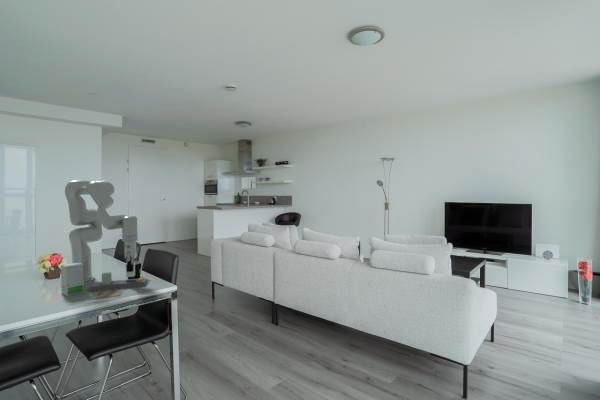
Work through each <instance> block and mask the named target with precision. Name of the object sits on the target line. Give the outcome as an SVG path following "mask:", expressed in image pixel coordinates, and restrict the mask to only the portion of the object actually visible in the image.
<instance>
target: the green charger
mask: <svg viewBox="0 0 600 400" xmlns="http://www.w3.org/2000/svg"><path fill="white" fill-rule="evenodd" d="M112 279H113V278H112V272H102V273H101V282H102V285H105V284H112V281H113V280H112Z"/></svg>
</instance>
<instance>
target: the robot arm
mask: <svg viewBox="0 0 600 400" xmlns="http://www.w3.org/2000/svg"><path fill="white" fill-rule="evenodd" d="M114 192H115V187H114V185H113V184H112V182H109V181H101V180H100V181H99V180H81V179H79V180H78V179H77V180H71V181H69V182H67V184H66V185H65V187H64V194H65V199H66V200H67V204H68V210H69V212H68V213H69V220H70V224H71V225H72V226H74V227H77V226H78V228H74V229H72V230H70V232H69V234H68V239H69V242H70V248H71V264H72V263H82V264H83V276H84V283H85V282H89V281H93V280H95V279H96V276H95V275H93V273H92V270H93V269H92V249H91V247H90V246H89V245H88V243H89V244H90V243H95V242H98V241H100V240H101V239H102V237H103V228H104V229H106V230H109V231H112V230H119V229H121V235H122V236H121V237H122V238H121V241H122V242H123V243H124V252H123V253H124V259H125V260H126V262H127V272H132V271H133V261H135V259H136V258H137V256H138V251H137V242H138V217H137V216H136V215H125V214H119V215H110V214H109V213H108V211H107V209H109V208H110V207H111V206H112V205H113V204H114V197H112V195H113V194H114ZM81 195H82V196H81ZM83 195H84V196H85V195H87V196H88V195H89V196H90V198H91V199H92V200H93V202H94V203H95V204H96V206H97V209H93V208H88V209H87V204H86V203H87V202H86V200H85V199H84V198H83ZM79 226H85V227H79ZM86 226H87V227H86ZM102 227H103V228H102Z"/></svg>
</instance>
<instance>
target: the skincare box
mask: <svg viewBox="0 0 600 400" xmlns="http://www.w3.org/2000/svg"><path fill="white" fill-rule="evenodd" d="M60 275H61V276H60V277H61V281H60V282H61V283H60V284H61V295H63V296H66V297H69V296H72V295H76V294H80V293H83V292H84V293H85V290H84V289H85V287H84V286H85V284H84V283H85V282H84V276H83V264H82V263H72V262H71V263H66V264H61V265H60Z"/></svg>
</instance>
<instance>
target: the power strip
mask: <svg viewBox="0 0 600 400" xmlns="http://www.w3.org/2000/svg"><path fill="white" fill-rule="evenodd" d="M146 283H147V278H146V277H140V278H139V279H128V278H127V279H119V280H112V284H105V285H102V281H96V282H93V283H92V284H91V285H90V286H89V292H99V291H100V292H101V291H111V290H120V289H128V288H129V289H130V288H139V287H145V285H146Z"/></svg>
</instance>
